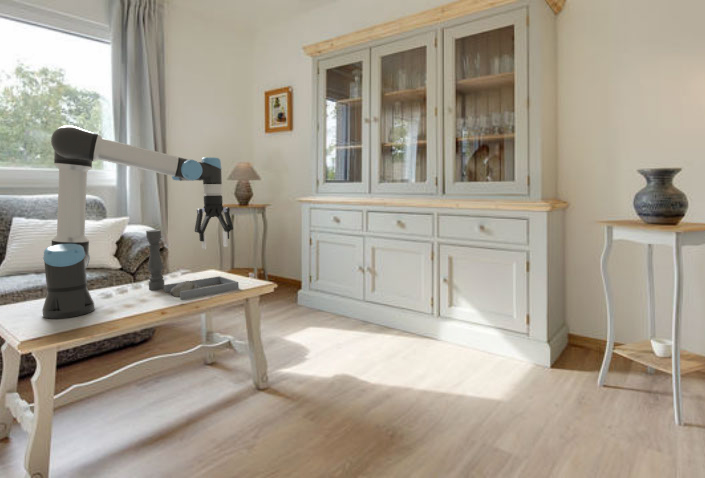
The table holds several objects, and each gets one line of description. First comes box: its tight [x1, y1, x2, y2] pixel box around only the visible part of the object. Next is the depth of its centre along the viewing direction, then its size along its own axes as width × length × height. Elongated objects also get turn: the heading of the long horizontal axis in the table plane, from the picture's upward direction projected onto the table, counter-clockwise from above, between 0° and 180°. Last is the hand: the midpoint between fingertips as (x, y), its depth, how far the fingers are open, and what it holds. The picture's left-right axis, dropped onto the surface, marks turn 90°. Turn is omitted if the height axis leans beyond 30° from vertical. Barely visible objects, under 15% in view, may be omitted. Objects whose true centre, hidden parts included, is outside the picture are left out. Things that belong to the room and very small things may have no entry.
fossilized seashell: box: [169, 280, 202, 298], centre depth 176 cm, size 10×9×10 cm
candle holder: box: [145, 229, 165, 291], centre depth 184 cm, size 6×6×25 cm
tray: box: [164, 275, 240, 300], centre depth 181 cm, size 25×17×3 cm
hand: (215, 247), depth 184 cm, fingers open, 9 cm apart
